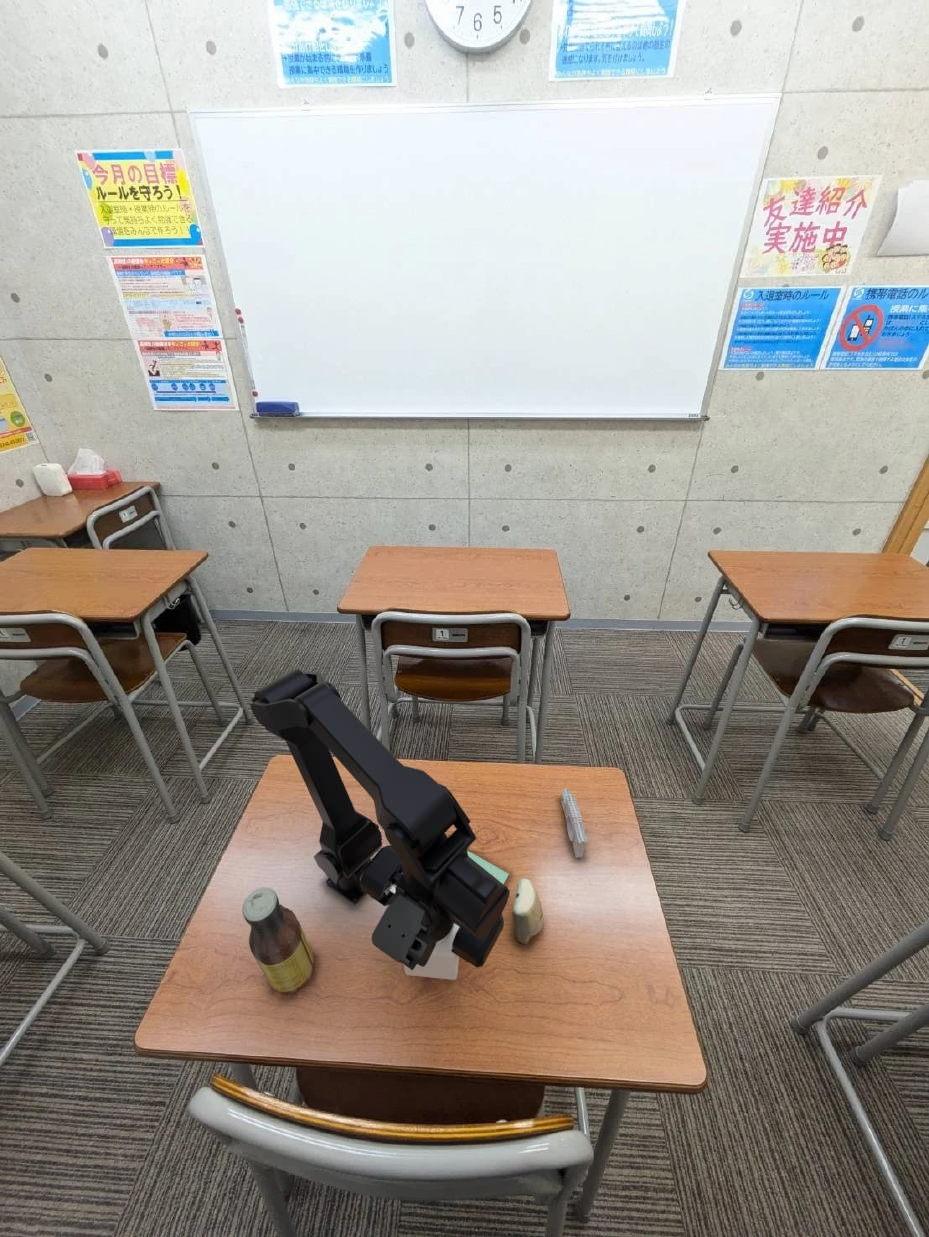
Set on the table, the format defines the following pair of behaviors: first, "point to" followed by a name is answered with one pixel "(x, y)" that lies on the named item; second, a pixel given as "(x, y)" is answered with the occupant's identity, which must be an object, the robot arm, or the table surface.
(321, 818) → the robot arm
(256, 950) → the sauce bottle
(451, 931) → the security camera
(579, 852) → the garden wall model
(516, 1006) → the table surface
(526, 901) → the beige rounded chunk
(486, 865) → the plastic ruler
